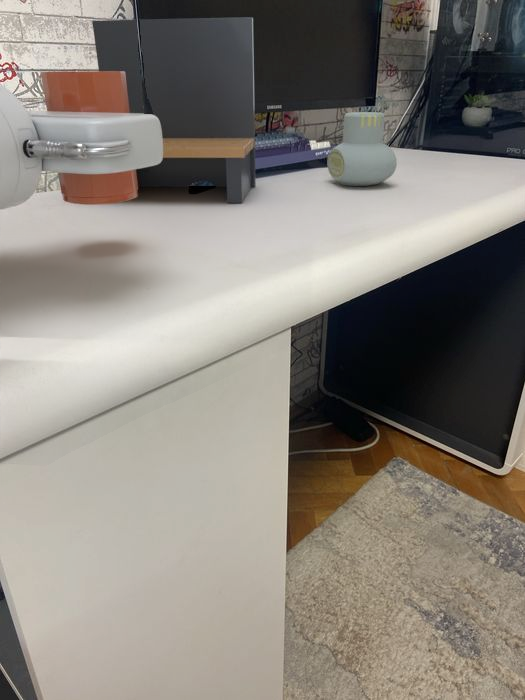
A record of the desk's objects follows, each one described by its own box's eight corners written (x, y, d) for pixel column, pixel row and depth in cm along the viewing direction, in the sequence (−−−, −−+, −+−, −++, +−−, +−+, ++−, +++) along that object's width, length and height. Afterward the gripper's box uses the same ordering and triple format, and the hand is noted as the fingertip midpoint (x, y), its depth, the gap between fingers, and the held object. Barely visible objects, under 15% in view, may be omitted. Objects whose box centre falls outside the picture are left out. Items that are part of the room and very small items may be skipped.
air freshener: (322, 178, 87) (325, 111, 82) (369, 176, 89) (374, 110, 84) (348, 191, 77) (353, 116, 73) (400, 188, 79) (408, 114, 75)
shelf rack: (84, 202, 72) (53, 11, 62) (116, 185, 84) (95, 21, 74) (245, 204, 70) (240, 6, 60) (255, 185, 82) (253, 18, 72)
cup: (50, 204, 48) (25, 71, 43) (80, 189, 54) (61, 72, 49) (125, 205, 47) (108, 71, 42) (147, 190, 53) (134, 71, 48)
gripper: (91, 98, 32) (197, 92, 44) (-141, 95, 39) (4, 90, 50) (105, 204, 35) (201, 172, 47) (-113, 184, 42) (18, 161, 53)
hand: (97, 129), depth 49 cm, fingers closed on cup, 7 cm apart
